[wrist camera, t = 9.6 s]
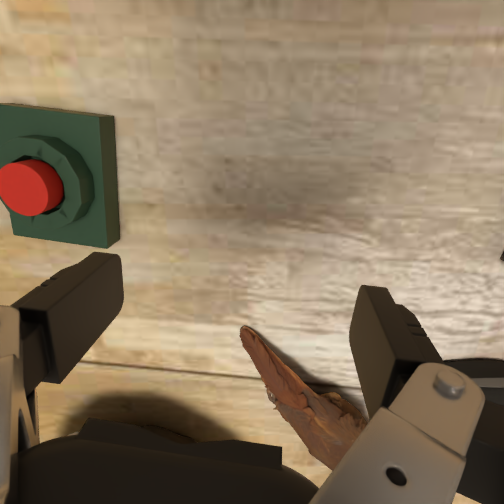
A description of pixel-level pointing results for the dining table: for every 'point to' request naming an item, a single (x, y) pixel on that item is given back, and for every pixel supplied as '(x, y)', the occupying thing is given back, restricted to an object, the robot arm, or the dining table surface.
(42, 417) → the dining table surface
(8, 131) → the button box
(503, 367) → the computer mouse
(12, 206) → the red button
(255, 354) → the bird sculpture
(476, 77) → the dining table surface
